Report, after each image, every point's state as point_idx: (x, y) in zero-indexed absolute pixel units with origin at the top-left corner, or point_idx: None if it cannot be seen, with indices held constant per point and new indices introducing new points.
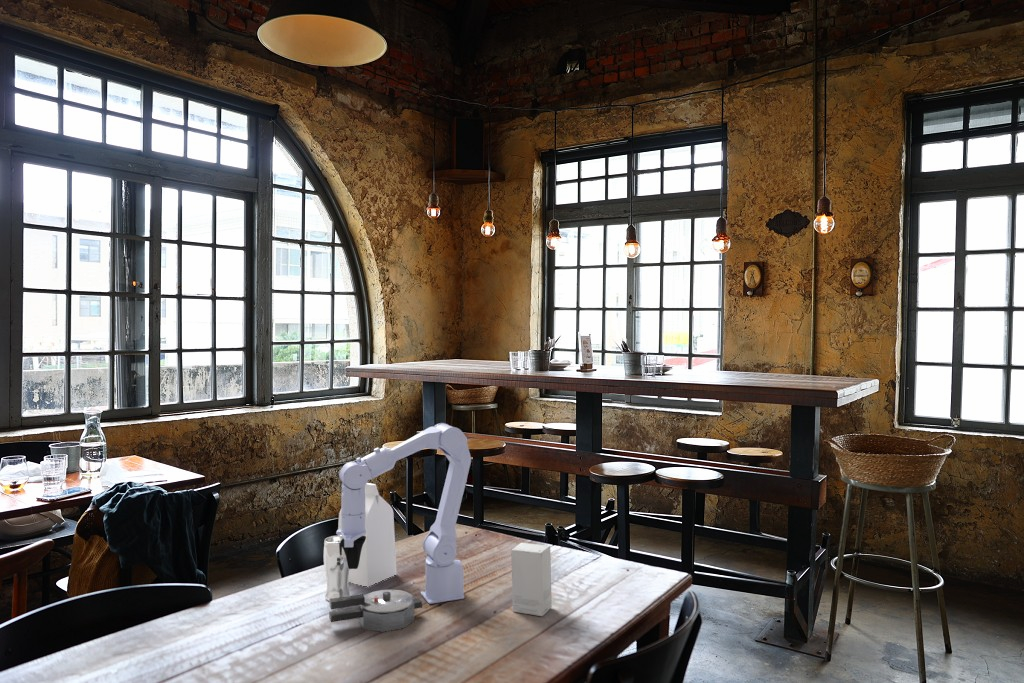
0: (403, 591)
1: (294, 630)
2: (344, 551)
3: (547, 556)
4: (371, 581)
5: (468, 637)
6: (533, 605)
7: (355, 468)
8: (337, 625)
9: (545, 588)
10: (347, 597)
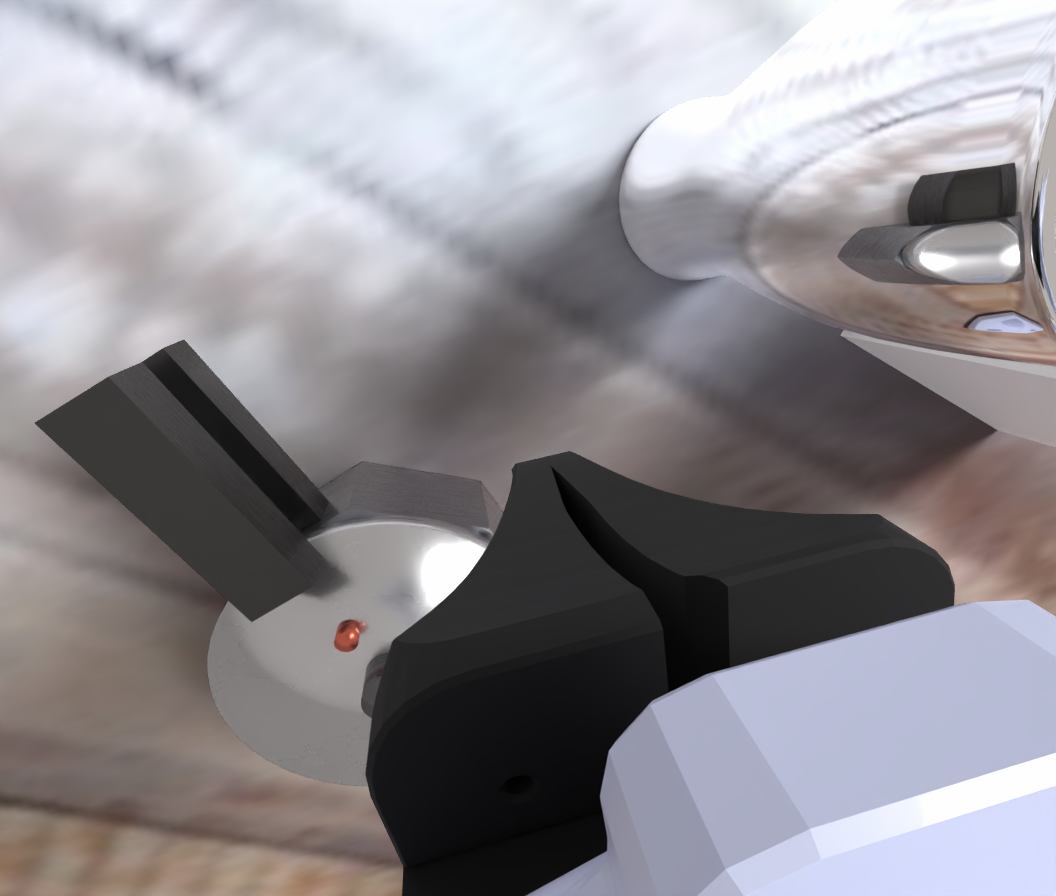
0: None
1: (67, 82)
2: (468, 573)
3: None
4: (885, 354)
5: (314, 885)
6: None
7: None
8: (260, 367)
9: None
10: (202, 510)
